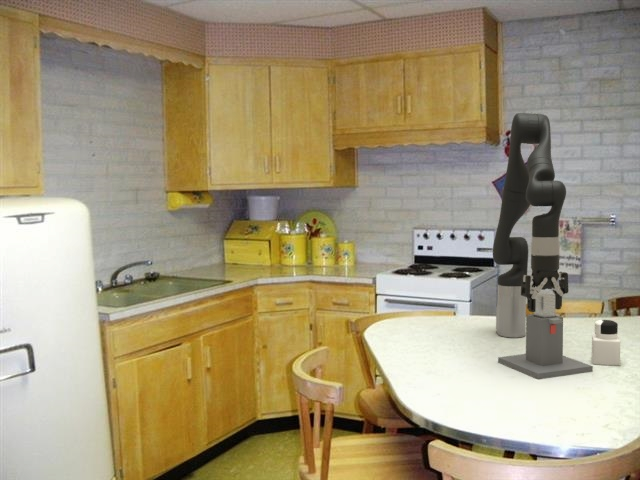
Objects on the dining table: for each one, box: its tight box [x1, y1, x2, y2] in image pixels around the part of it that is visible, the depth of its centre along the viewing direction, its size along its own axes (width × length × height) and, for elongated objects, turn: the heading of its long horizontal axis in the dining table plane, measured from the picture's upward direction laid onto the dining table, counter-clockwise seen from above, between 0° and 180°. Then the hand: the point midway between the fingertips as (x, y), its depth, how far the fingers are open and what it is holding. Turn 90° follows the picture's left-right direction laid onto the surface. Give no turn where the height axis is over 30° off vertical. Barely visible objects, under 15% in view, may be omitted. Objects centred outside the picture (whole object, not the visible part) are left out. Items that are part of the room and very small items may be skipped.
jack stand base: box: [497, 313, 593, 380], centre depth 191 cm, size 18×18×14 cm
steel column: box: [533, 293, 556, 319], centre depth 190 cm, size 4×4×18 cm
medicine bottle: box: [591, 319, 621, 367], centre depth 195 cm, size 7×7×12 cm
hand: (544, 310), depth 190 cm, fingers open, 8 cm apart
